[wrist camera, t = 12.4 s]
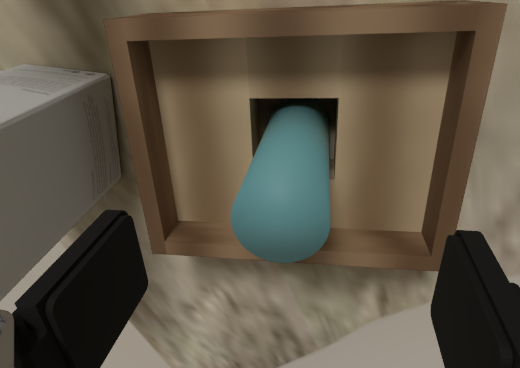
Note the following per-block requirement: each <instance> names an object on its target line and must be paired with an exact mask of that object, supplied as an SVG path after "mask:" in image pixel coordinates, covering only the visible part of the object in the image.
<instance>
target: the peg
mask: <svg viewBox="0 0 520 368" xmlns="http://www.w3.org/2000/svg"><path fill="white" fill-rule="evenodd" d="M231 226H232V229H233V232H234V234H235V236H236V238H237V239H238V241H239V242H240V243H241V244H242V246H243V247H245V248H246V249H247V250H248V251H249V252H251V253H252V254H254V255H255V256H257V257H259V258H262V259H264V260H267V261H271V262H277V263H291V262H297V261H300V260H303V259H306V258H308V257H310V256H312V255H313V254H315V253H316V252H317V251H318V250H319V249H320V248H321V247H322V246H323V244H324V243H325V241H326V239H327V237H328V235H329V231H330V176H329V120H328V116H327V113H326V111H325V109H324V108H323V106H322V105H321V104H320V103H319V102H318V101H316V100H315V99H313V98H287V99H285V100H283V101H282V102H281V103H279V104H278V105H277V107H276V108H275V110H274V112H273V114H272V116H271V118H270V121H269V123H268V125H267V127H266V130H265V132H264V134H263V137H262V139H261V141H260V143H259V146H258V148H257V150H256V153H255V155H254V157H253V160H252V162H251V164H250V166H249V169H248V171H247V173H246V176H245V178H244V180H243V182H242V185H241V187H240V189H239V192H238V194H237V196H236V199H235V201H234V203H233V206H232V209H231Z"/></svg>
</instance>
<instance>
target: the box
mask: <svg viewBox="0 0 520 368" xmlns="http://www.w3.org/2000/svg"><path fill="white" fill-rule="evenodd" d="M506 8H507V4H505V3H492V2H479V1H466V0H461V1H437V2H413V3H389V4H365V5H341V6H317V7H293V8H269V9H245V10H221V11H197V12H173V13H149V14H142V15H135V16H127V17H120V18H112V19H105V20H103V21H104V26H105V31H106V36H107V40H108V45H109V50H110V55H111V59H112V64H113V69H114V73H115V78H116V83H117V88H118V92H119V97H120V102H121V107H122V111H123V116H124V121H125V126H126V130H127V135H128V140H129V145H130V149H131V154H132V159H133V164H134V168H135V173H136V178H137V183H138V187H139V192H140V197H141V201H142V206H143V211H144V216H145V220H146V225H147V230H148V235H149V239H150V244H151V249H152V254H168V255H184V256H200V257H216V258H232V259H248V260H264V259H262V258H259V257H257V256H255V255H254V254H252V253H251V252H249V251H248V250H247V249H246V248H245V247H243V246H242V244H241V243H240V242H239V241H238V239H237V238H236V236H235V234H234V232H233V229H232V226H231V209H232V206H233V203H234V201H235V199H236V196H237V194H238V192H239V189H240V187H241V185H242V182H243V180H244V178H245V176H246V173H247V171H248V169H249V166H250V164H251V162H252V160H253V157H254V155H255V153H256V150H257V148H258V146H259V143H260V128H259V106H258V98H337V103H336V123H335V144H334V160H329V176H330V231H329V235H328V237H327V239H326V241H325V243H324V244H323V246H322V247H321V248H320V249H319V250H318V251H317V252H316V253H315V254H313V255H312V256H310V257H308V258H306V259H303V260H300V261H297V262H296V263H312V264H328V265H344V266H360V267H376V268H392V269H408V270H424V271H439V269H440V265H441V260H442V256H443V252H444V247H445V243H446V239H447V236H448V235H454V233H455V232H456V228H457V224H458V220H459V215H460V211H461V206H462V202H463V198H464V193H465V189H466V184H467V180H468V175H469V171H470V167H471V162H472V158H473V153H474V149H475V145H476V140H477V136H478V131H479V127H480V123H481V118H482V114H483V109H484V105H485V100H486V96H487V92H488V87H489V83H490V78H491V74H492V70H493V65H494V61H495V56H496V52H497V48H498V43H499V39H500V34H501V30H502V26H503V21H504V17H505V12H506ZM264 261H267V260H264Z"/></svg>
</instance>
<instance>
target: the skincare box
mask: <svg viewBox="0 0 520 368" xmlns="http://www.w3.org/2000/svg"><path fill="white" fill-rule="evenodd" d="M120 178H121V167H120V158H119V149H118V140H117V131H116V122H115V113H114V105H113V97H112V88H111V80H110V76H109V75H108V74H105V73H97V72H89V71H82V70H74V69H65V68H56V67H48V66H39V65H29V64H23V65H20V66H16V67H13V68H10V69H7V70H3V71H0V301H1V300H2V299H3V298H4V297H5V296H6V295H7V294H8V293H9V292H10V291H11V289H13V287H15V286H16V285H17V284H18V282H19V281H20V280H21V279H22V278H23V277H24V276H25V275H26V274H27V273H28V272H29V271H30V270H31V269H32V268H33V267H34V266H35V265H36V264H37V263H38V262H39V261H40V260H41V259H42V258H43V257H44V256H45V255H46V254H47V253H48V252H49V251H50V249H52V248H53V246H55V244H57V243H58V242H59V241H60V239H61V238H62V237H63V236H64V235H65V234H66V233H67V232H68V231H69V230H70V229H71V228H72V227H73V226H74V225H75V224H76V223H77V222H78V221H79V220H80V219H81V218H82V217H83V216H84V215H85V214H86V213H87V212H88V211H89V210H90V209H91V208H92V207H93V206H94V205H95V204H96V203H97V202H98V201H99V200H100V199H101V198H102V197H103V196H104V194H105V193H106V192H107V191H109V190H110V188H111V187H112V186H113V185H114V184H115V183H116V182H117V181H118V180H119V179H120Z"/></svg>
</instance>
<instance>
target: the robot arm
mask: <svg viewBox="0 0 520 368" xmlns="http://www.w3.org/2000/svg"><path fill="white" fill-rule="evenodd" d="M147 286H148V278H147V274H146V270H145V266H144V262H143V258H142V254H141V250H140V246H139V242H138V238H137V234H136V230H135V226H134V222H133V219H132V217H131V216H129V215H128V214H127V212H126V211H122V210H106V211H104V212H103V213H102V214H101V215H100V216H99V217H98V218H97V219H96V220H95V221H94V222H93V223H92V224H91V225H90V226H89V227H88V228H87V229H86V231H85V232H84V233H83V234H82V235H81V236H80V237H79V238H78V239H77V240H76V241H75V242H74V243H73V244H72V245H71V246H70V247H69V248H68V249H67V250H66V251H65V252H64V253H63V254H62V255H61V256H60V258H58V259H57V260H56V261H55V262H54V263H53V264H52V265H51V267H49V268H48V270H47V271H46V272H45V273H44V274H43V275H42V276H41V277H40V278H39V279H38V280H37V281H36V282H35V283H34V284H33V285H32V286H31V287H30V288H29V289H28V290H27V291H26V292H25V293H24V294H23V295H22V296H21V297H20V298H19V299H18V300H17V301H16V302H15V305H16V307H17V309H16V310H15V311H14V312H13V313H12V314H11V313H10V312H8V311H5V310H0V368H100V367H101V365H102V364H103V362H104V360H105V359H106V357H107V355H108V353H109V352H110V350H111V349H112V347H113V345H114V343H115V342H116V340H117V339H118V337H119V335H120V334H121V332H122V330H123V329H124V327H125V325H126V324H127V322H128V320H129V318H130V317H131V315H132V313H133V312H134V310H135V308H136V307H137V305H138V303H139V302H140V300H141V298H142V297H143V295H144V293H145V292H146V290H147ZM431 318H432V322H433V326H434V330H435V333H436V337H437V340H438V344H439V348H440V352H441V355H442V359H443V362H444V366H445V368H520V287H519V286H518V285H517V284H515V283H509V281H508V279H507V277H506V275H505V274H504V272H503V270H502V268H501V267H500V265H499V263H498V261H497V259H496V258H495V256H494V254H493V252H492V250H491V249H490V247H489V245H488V243H487V241H486V240H485V238H484V236H483V234H482V233H481V232H479V231H465V230H457V231H456V232H455V233H454V235H448V236H447V239H446V243H445V247H444V252H443V256H442V260H441V265H440V269H439V273H438V278H437V282H436V286H435V291H434V295H433V299H432V304H431Z"/></svg>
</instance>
